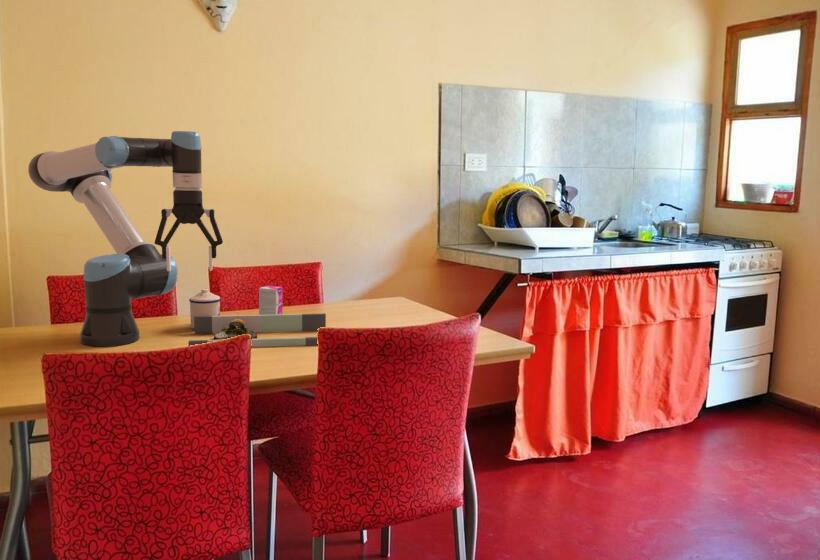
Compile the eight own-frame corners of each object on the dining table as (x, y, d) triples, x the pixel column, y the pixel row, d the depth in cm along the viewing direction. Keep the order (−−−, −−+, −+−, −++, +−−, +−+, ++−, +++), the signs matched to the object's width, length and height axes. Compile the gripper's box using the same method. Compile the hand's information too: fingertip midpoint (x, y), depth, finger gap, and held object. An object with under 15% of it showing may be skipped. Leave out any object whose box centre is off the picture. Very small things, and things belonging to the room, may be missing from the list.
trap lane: (188, 348, 192) (188, 330, 191) (194, 332, 210) (194, 316, 209) (331, 344, 200) (331, 327, 199) (325, 329, 218) (325, 313, 217)
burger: (205, 342, 200) (204, 316, 199) (231, 333, 211) (230, 308, 210) (241, 347, 196) (240, 320, 195) (265, 338, 207) (265, 312, 205)
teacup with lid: (225, 328, 216) (224, 290, 214) (195, 331, 211) (193, 292, 210) (212, 320, 226) (211, 284, 224) (183, 323, 221) (182, 286, 220)
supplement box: (276, 325, 221) (276, 289, 220) (258, 324, 223) (257, 288, 221) (283, 321, 227) (283, 286, 225) (265, 320, 228) (265, 285, 226)
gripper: (140, 189, 189) (144, 272, 192) (230, 190, 193) (232, 271, 197) (144, 188, 196) (148, 268, 199) (231, 189, 201) (233, 267, 204)
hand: (190, 270), depth 198 cm, fingers open, 10 cm apart
